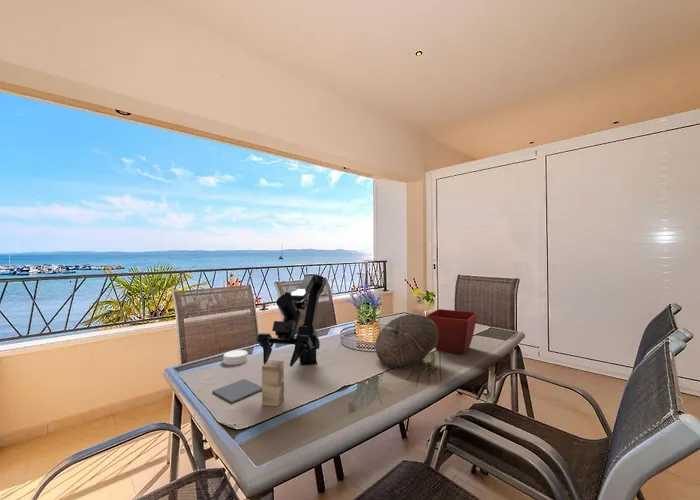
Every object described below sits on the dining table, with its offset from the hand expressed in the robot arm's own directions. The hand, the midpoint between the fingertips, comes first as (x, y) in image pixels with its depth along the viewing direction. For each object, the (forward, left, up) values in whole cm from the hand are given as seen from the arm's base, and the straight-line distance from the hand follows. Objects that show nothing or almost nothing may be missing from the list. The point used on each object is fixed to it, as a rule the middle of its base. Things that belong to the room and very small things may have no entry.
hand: (277, 365), depth 98 cm
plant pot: (-83, -23, -10) cm, 87 cm away
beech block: (+2, +3, -10) cm, 11 cm away
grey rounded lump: (-54, -15, -10) cm, 58 cm away
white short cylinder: (+16, -39, -11) cm, 44 cm away
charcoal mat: (+13, -8, -10) cm, 18 cm away
